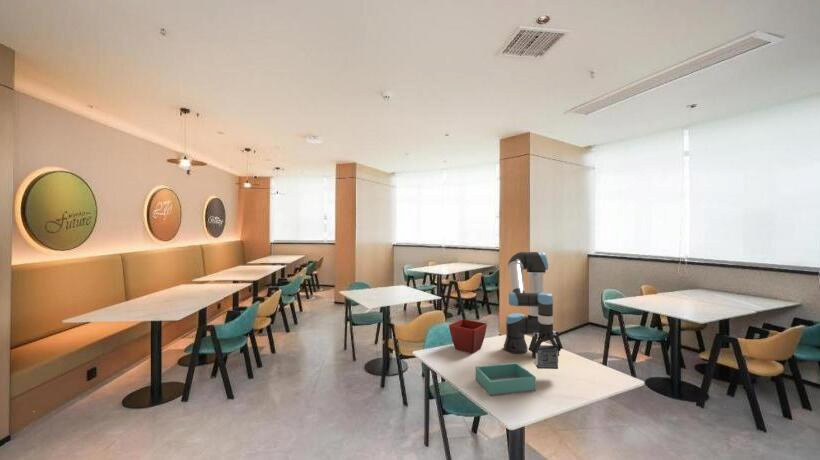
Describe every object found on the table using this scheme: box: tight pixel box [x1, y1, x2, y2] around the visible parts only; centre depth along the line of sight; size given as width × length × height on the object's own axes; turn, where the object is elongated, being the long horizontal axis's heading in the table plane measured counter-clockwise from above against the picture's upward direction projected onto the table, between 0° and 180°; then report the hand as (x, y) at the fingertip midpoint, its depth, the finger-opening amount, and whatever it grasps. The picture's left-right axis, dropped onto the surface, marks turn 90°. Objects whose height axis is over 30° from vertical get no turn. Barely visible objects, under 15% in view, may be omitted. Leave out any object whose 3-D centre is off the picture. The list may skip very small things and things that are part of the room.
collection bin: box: [475, 362, 537, 397], centre depth 169 cm, size 24×18×7 cm
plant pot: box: [448, 318, 488, 354], centre depth 221 cm, size 19×19×17 cm
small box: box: [535, 344, 559, 370], centre depth 176 cm, size 11×6×10 cm, turn 84°
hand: (545, 363), depth 176 cm, fingers closed on small box, 11 cm apart
